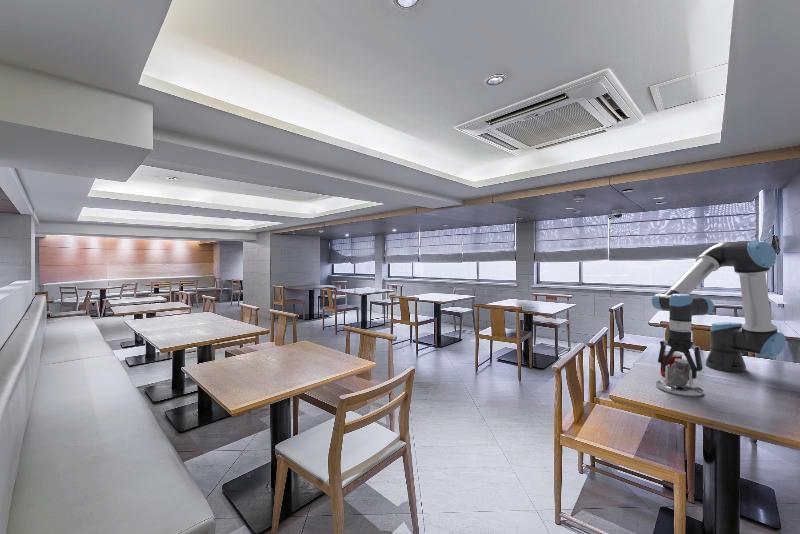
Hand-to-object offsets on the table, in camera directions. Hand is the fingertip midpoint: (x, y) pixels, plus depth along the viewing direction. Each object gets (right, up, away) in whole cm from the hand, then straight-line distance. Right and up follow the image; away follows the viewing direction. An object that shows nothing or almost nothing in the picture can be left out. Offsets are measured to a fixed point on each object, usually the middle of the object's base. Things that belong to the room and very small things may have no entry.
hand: (679, 382), depth 150 cm
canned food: (+9, -2, +16) cm, 19 cm away
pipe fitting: (0, 0, 0) cm, 1 cm away
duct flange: (0, -3, 0) cm, 3 cm away
